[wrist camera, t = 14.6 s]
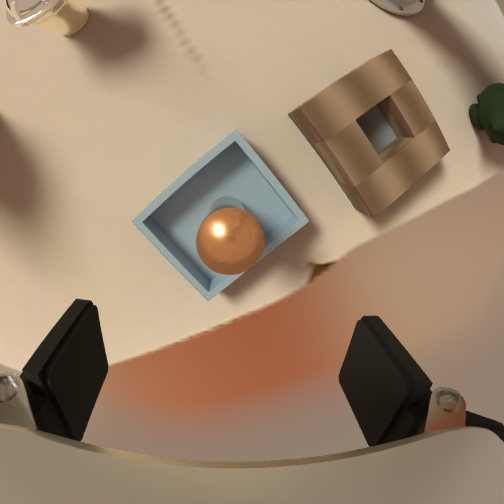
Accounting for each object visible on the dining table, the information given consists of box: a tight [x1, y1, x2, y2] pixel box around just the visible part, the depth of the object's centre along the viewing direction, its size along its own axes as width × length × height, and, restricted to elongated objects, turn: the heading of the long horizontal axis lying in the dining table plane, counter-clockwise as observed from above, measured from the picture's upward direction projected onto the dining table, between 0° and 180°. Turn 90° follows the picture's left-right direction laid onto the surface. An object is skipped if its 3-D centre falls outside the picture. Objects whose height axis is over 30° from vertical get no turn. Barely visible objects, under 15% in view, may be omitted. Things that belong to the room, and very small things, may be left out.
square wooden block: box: [288, 49, 450, 218], centre depth 29 cm, size 14×14×5 cm
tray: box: [132, 129, 309, 301], centre depth 31 cm, size 14×12×4 cm
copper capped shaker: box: [196, 196, 265, 275], centre depth 27 cm, size 5×5×11 cm
